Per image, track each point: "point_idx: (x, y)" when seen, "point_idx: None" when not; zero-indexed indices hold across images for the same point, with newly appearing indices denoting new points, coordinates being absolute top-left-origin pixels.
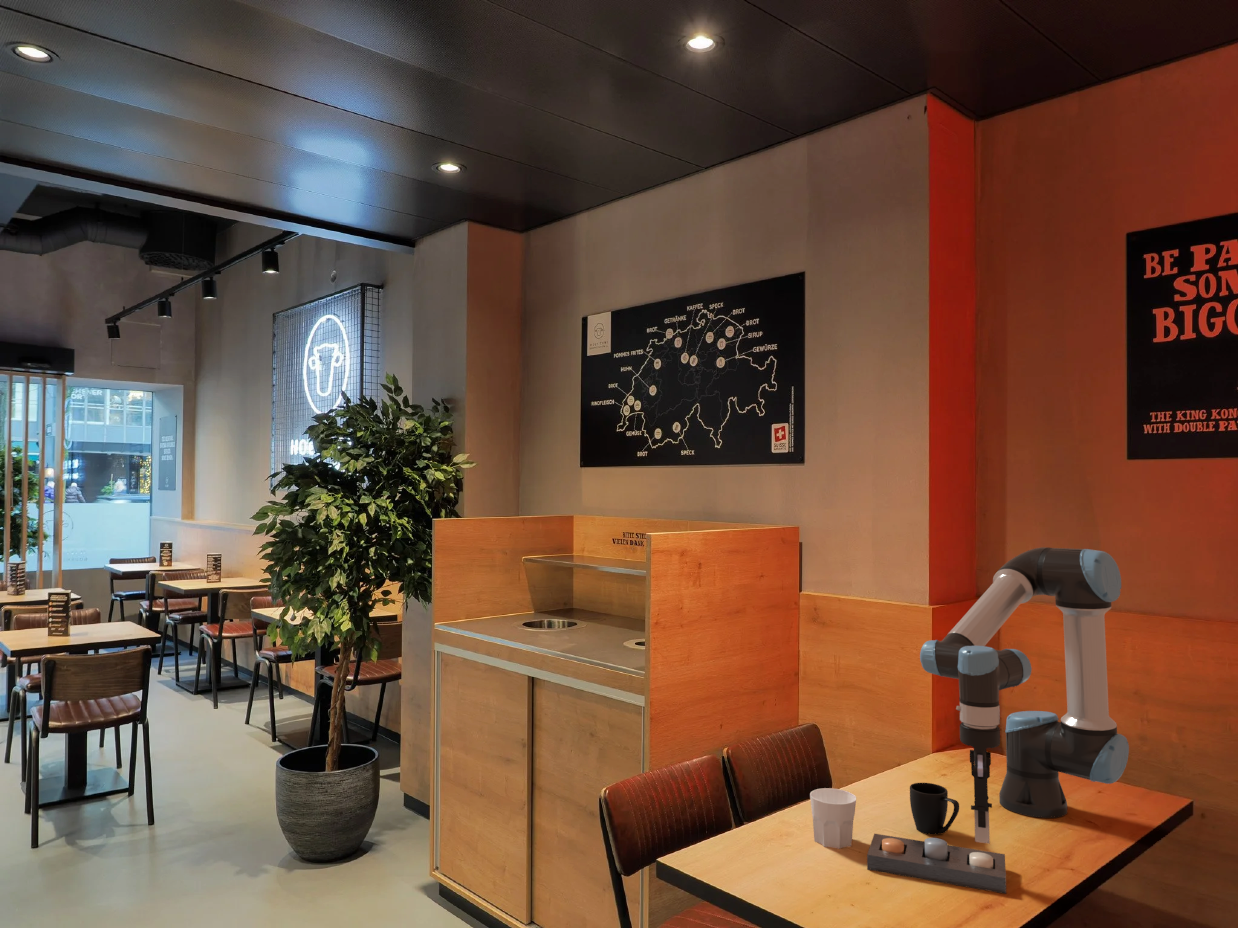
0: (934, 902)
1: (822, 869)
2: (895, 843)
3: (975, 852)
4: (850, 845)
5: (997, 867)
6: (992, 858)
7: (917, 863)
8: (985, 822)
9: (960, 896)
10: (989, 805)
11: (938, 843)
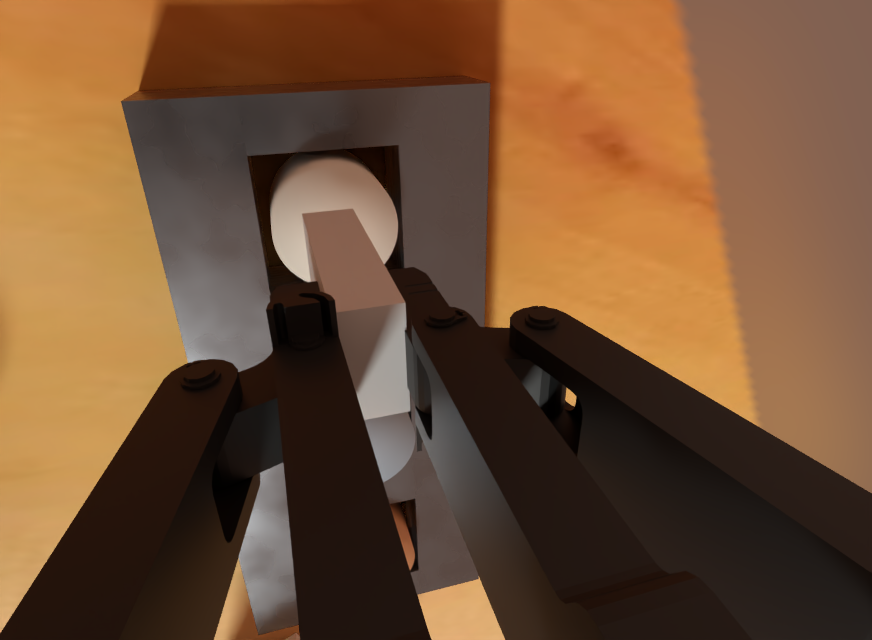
0: (629, 320)
1: None
2: None
3: (291, 263)
4: (297, 635)
5: (367, 133)
6: (328, 169)
7: None
8: (431, 284)
9: (557, 252)
10: (335, 320)
11: (371, 434)
